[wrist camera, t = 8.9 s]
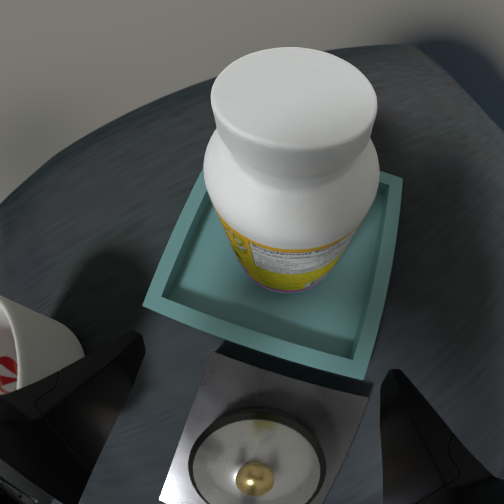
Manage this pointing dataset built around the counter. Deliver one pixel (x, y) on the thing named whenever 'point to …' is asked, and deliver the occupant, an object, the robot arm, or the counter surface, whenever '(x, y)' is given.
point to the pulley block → (261, 438)
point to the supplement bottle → (291, 162)
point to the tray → (281, 304)
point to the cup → (32, 346)
